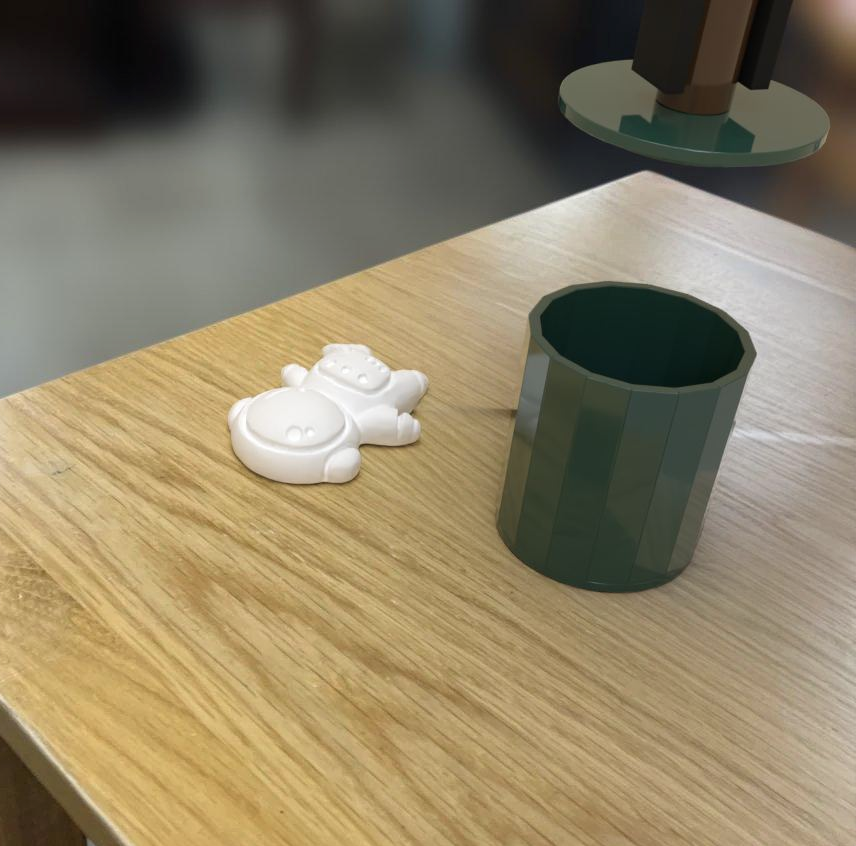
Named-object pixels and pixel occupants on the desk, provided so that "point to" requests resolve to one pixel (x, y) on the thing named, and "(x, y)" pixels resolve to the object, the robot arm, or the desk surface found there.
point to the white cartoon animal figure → (326, 417)
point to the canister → (619, 432)
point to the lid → (698, 104)
